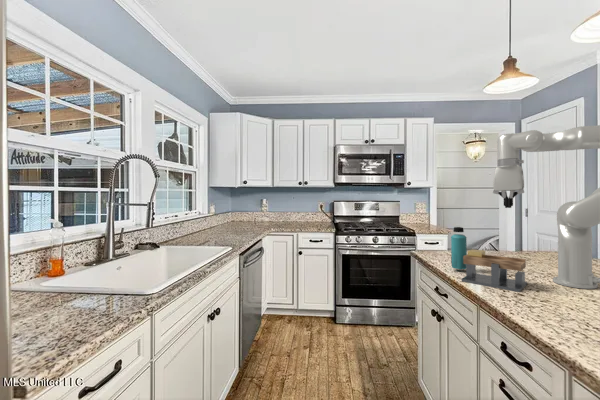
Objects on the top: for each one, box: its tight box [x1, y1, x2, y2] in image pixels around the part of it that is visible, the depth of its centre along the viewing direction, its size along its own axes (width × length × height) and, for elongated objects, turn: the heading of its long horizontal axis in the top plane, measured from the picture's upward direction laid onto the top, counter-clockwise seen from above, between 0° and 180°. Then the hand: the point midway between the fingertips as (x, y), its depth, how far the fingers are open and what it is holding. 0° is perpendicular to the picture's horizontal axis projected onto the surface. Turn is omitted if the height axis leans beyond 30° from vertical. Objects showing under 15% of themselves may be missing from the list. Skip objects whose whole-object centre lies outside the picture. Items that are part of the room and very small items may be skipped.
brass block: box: [467, 249, 486, 258], centre depth 120 cm, size 5×5×3 cm
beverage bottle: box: [450, 226, 468, 270], centre depth 134 cm, size 6×7×20 cm
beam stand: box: [461, 263, 528, 293], centre depth 116 cm, size 19×13×9 cm
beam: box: [463, 253, 527, 272], centre depth 115 cm, size 19×8×3 cm, turn 43°
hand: (508, 207), depth 123 cm, fingers closed
